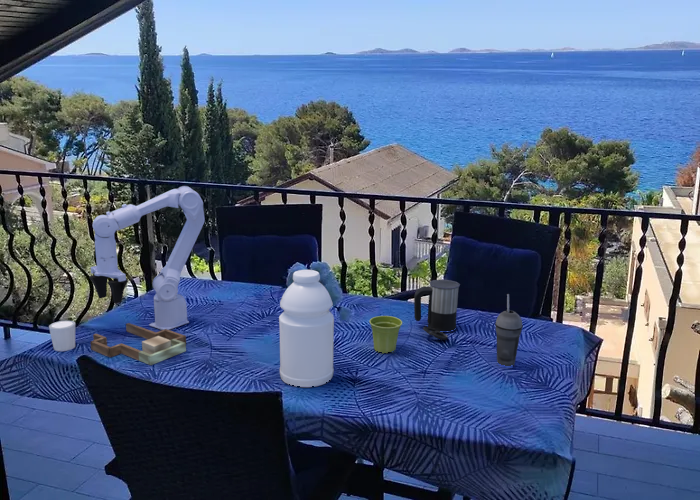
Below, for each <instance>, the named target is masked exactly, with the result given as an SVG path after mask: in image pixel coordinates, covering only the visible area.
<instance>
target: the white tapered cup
mask: <svg viewBox="0 0 700 500" xmlns="http://www.w3.org/2000/svg"><path fill="white" fill-rule="evenodd" d="M48 328H49V333H50V338H51V342H52V346H53V347H52V348H53V350H54V351H55V352H56V351H57V352H66V351H67V352H68V351H70V350H73V349H75V348H76V322H75V321H73V320H60V321H56V322H53V323H51V324H49V325H48Z"/></svg>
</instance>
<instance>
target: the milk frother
mask: <svg viewBox="0 0 700 500" xmlns="http://www.w3.org/2000/svg"><path fill="white" fill-rule="evenodd" d="M429 285H430V286H421V287H419V288H417V290H415V293H414V296H413V298H414V299H413V302H414V303H413V304H414V305H413V306H414V308H413V312H414V315H413V316H414V320H415V321H417V322H420V321H421V320H422V297H423V296H424V295H428V306H427V325H428V327H427V326H423V327H422V330H423V331H424V332H426V333H427V334H429V335H430V336H432V337H434V338H435V339H437V340H439V339H440V340H441V341H442V340H443V341H445V340H448V338H449V337H448V335H447V333H443V332H440V331H451V330H454V329H455V328H456V327H457V313H458V312H457V311H458V298H459V288H460V285H461V284H460V283H459V282H457V281H455V280H451V279H434V280H431V281H429ZM440 340H439V341H440Z"/></svg>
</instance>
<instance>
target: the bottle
mask: <svg viewBox="0 0 700 500" xmlns="http://www.w3.org/2000/svg"><path fill="white" fill-rule="evenodd" d="M292 280H293V282H292V283H291V284H290V285H289V286H288V287H287V288H286V290H285V291H284V292H283V294H282V297H281V298H280V302H279V306H280V308H281V309H282V310H283V312H282V313H281V314H280V315H279V317H278V322H279V325H278V326H279V366H280V367H279V376H280V380H282V381H283V382H284V383H285V384H286V385H289V384H290V385H289V386H292V385H294V386H293V387H297V386H300V387H299V388H313V387H312V386H314V387H319V386H322V385H326V384H327V383H329V382H330V381H331V379H333V376H334V372H335V370H334V328H335V327H334V326H335V325H334V324H335V317H334V315H333V313H332V312H331V311H330V309H331V308H332V307H333V305H334V304H333V301H332V298H331V297H332V296H331V294H330V292H329V291H328V289H327V288H326V286H324V285H323V283H321V282H320V280H321V275H320V272H319V271H317V270H313V269H299V270H296V271H294V272H293V273H292ZM329 380H330V381H329ZM326 382H327V383H326Z"/></svg>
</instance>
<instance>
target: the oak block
mask: <svg viewBox="0 0 700 500" xmlns="http://www.w3.org/2000/svg"><path fill="white" fill-rule="evenodd" d="M169 347H172V346H171V340H168V339H165V338H163V337H160V336H157V337H154V338H151V339H144V340H142V341H141V351H143V352H146V353H148V354H154V353H156V352H159V351H161V350H164V349H167V348H169Z"/></svg>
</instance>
